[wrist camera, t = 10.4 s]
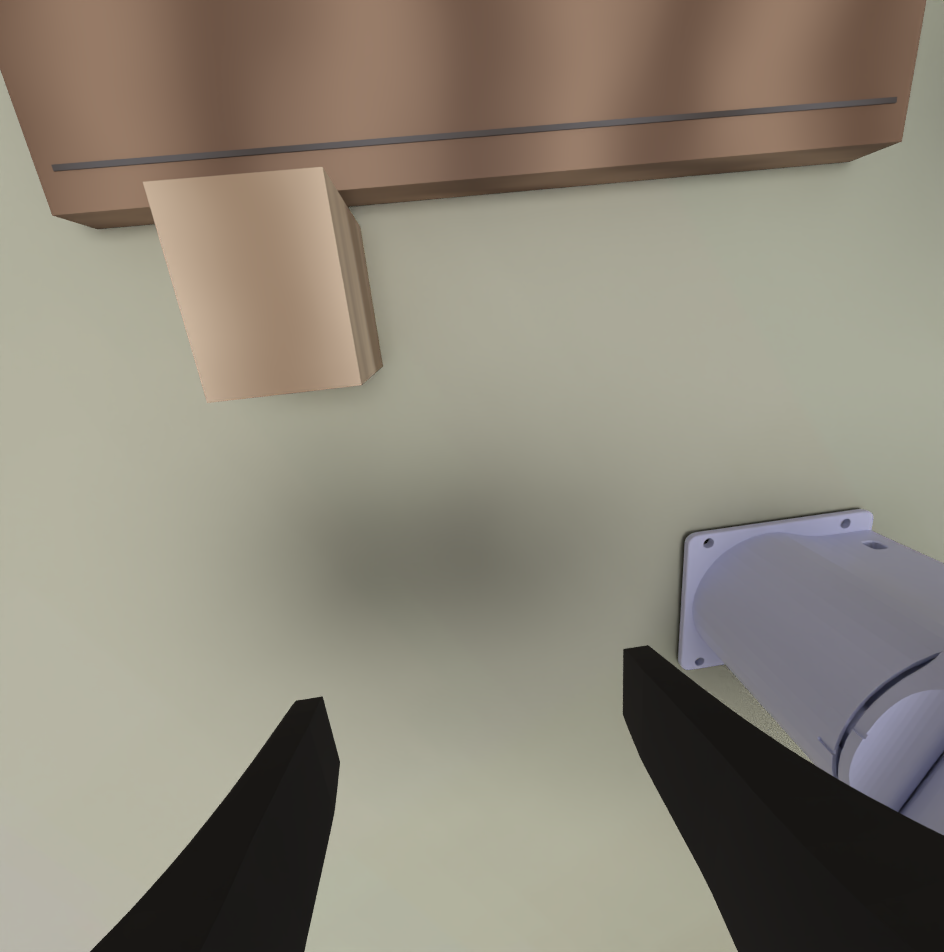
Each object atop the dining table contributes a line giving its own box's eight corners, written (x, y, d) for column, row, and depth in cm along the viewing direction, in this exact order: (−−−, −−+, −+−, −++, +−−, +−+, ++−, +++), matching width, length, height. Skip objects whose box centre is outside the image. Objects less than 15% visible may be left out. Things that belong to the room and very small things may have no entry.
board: (884, -80, 15) (952, -141, 13) (849, 161, 17) (903, 140, 15) (10, -34, 13) (-61, -95, 11) (97, 228, 16) (50, 215, 14)
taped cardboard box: (359, 219, 16) (320, 154, 10) (382, 366, 18) (361, 385, 12) (247, 229, 16) (138, 168, 10) (282, 377, 18) (207, 403, 12)
